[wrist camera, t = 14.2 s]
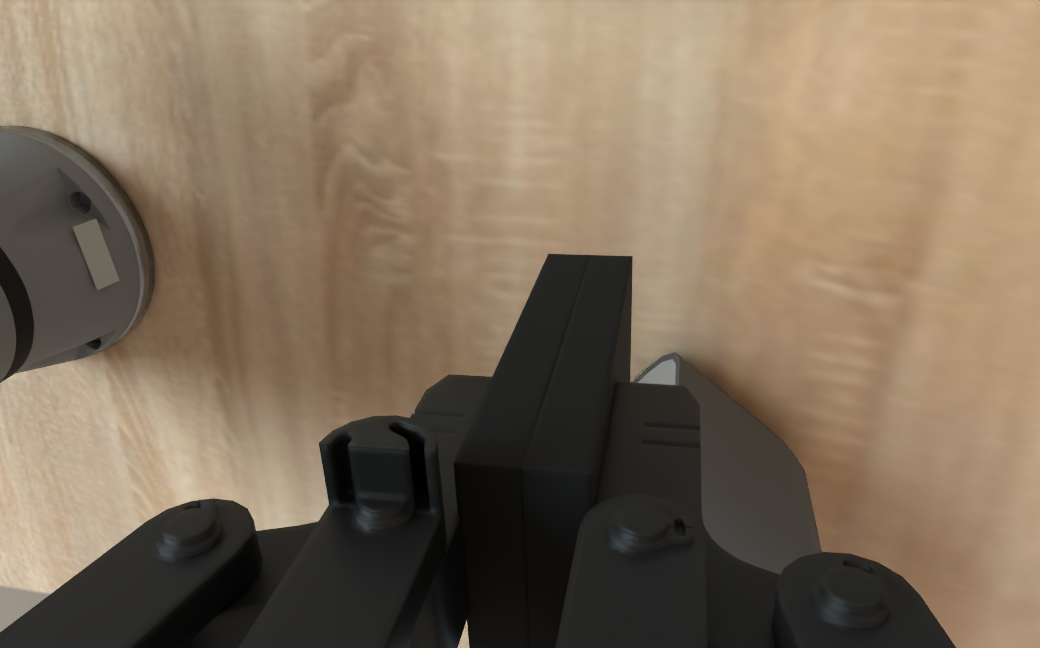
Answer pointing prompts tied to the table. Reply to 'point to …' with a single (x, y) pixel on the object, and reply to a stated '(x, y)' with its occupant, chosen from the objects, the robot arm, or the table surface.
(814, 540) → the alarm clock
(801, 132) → the table surface
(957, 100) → the table surface
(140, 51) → the table surface
